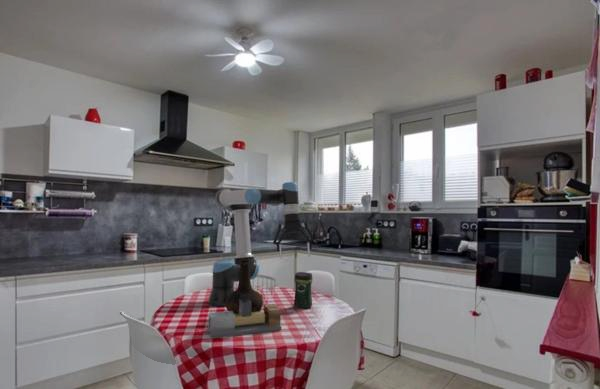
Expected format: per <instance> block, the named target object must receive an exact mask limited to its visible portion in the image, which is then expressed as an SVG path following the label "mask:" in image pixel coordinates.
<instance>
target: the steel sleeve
mask: <svg viewBox="0 0 600 389" xmlns="http://www.w3.org/2000/svg"><path fill="white" fill-rule="evenodd" d="M208 325H209V326H208ZM208 325H207V326H208V327H209V330H210V332H215V331H224V330H233V329H235V314H234V313H233V311H228V310H226V311H217V312H208Z"/></svg>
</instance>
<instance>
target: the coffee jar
mask: <svg viewBox="0 0 600 389" xmlns="http://www.w3.org/2000/svg"><path fill="white" fill-rule="evenodd" d="M312 283H313V275H312V273H311V272H304V271H297V272H296V273H295V275H294V284H295V290H294V298H293V300H294V302H293V305H294V307H295V308H298V309H310V308H312V306H313V296H312Z"/></svg>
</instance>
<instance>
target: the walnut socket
mask: <svg viewBox="0 0 600 389" xmlns="http://www.w3.org/2000/svg"><path fill="white" fill-rule="evenodd" d="M263 312H264V314H265V322H266V323H267V324H268V326H269V327H272V326H281V319H282V316H281V315H282V310H281V308H280V307H279V306H277V305H276V304H275V303H270V304H263Z"/></svg>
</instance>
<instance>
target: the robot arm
mask: <svg viewBox="0 0 600 389" xmlns="http://www.w3.org/2000/svg"><path fill="white" fill-rule="evenodd" d="M215 202H216V204H217V205H218V206H219V207H220V208H225V209H230V212H231V213H232V214H233V219H234V220H233V221H234V234H235V236H234V237H235V252H236V255H235V256H234V258H223V259H218V260H216V261H214V263H213V265H212V266H213V267H212V284H211V285H212V288H211V291H210V294H209V297H208V301H207V302H208V305H210V306H212V307H213V306H215V307H226V299H227V297H228V296H229V294H230V293H232V292H234V291H235V288H234V286H235V285H234V284H235V283H239V277H240V264H239V262H241V260H240V259H242V258H248V259H250V260H249V261H250V262H251V263H249V272H250V281H251V280H255V279H256V278H257V276H258V275H259V272H260V264H259V262H258V260H257V259H255V255H254V254H252V247H251V246H252V244H251V231H250V218H249V214H250V213H251V211H252V208H253V207H254V205H270V206H272V207H277V206H280V205H283V213H284V215H283V216H284V224H281V223H279V224H278V230H277V232H276V234H275V237H274V239H273V241H272V243H273V244H274V245H276V250H277V253H278V252H279V259H283V258H282V244H281V243H282V241H283V240H284V238H285V237H286V236H287V234H288V233H289V234H292V233H299V234H300V235H301V236H302V237H303V238H304V239H305V240H306V241H307V243H306V246H307V256H308V257H311V250H312V247H313V246H312V242H315V241H316V239H315V237H314V236H313V233H312V232H311V230H310V229H309V227H308V223H307V222H306V221H305V222H302V223H301V215H300V202H299V189H298V184H297V182H293V181H290V182H289V181H287V182H284V183H282V188H280V189H277V190H276V189H264V188H263V189H261V188H255V187H254V188H248V189H243V188H222V189H220V190H218V191H217V192H216V193H215ZM301 227H303V228H304V229H305V231H306V232H307V234H308V235H309V237H308V236H307V235H306V233H304V232H303V231H302V229H301ZM283 228H284V229H285V231H284V233H283V234H282V235H281V234H280V233H281V231H282V230H283ZM280 235H281V237H280V238H279V236H280ZM278 238H279V239H278Z"/></svg>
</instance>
